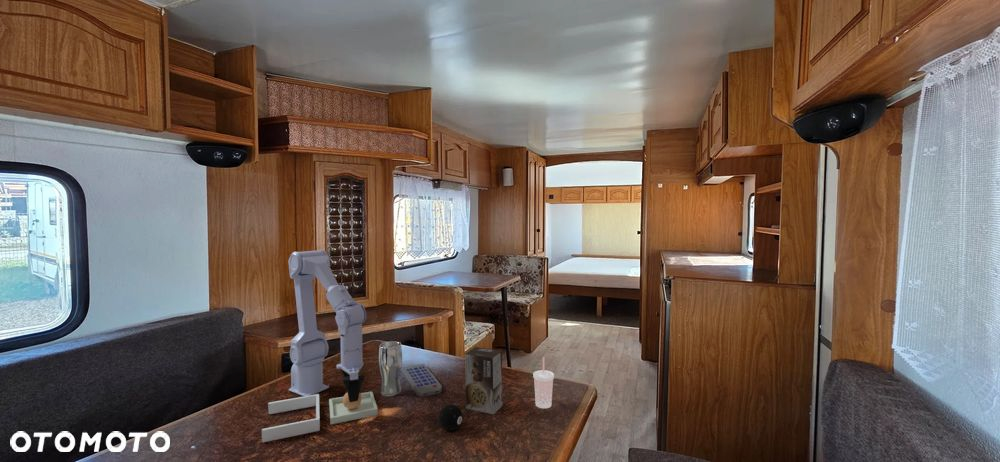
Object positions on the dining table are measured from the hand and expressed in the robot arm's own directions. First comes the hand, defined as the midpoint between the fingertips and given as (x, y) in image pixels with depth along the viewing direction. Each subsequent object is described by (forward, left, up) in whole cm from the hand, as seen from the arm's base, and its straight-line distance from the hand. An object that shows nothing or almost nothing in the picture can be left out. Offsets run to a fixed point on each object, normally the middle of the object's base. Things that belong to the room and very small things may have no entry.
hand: (352, 395), depth 113 cm
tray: (0, 0, -4) cm, 4 cm away
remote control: (+3, +25, -5) cm, 25 cm away
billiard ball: (+30, +6, -4) cm, 31 cm away
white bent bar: (-8, -12, -4) cm, 16 cm away
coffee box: (+31, +20, -4) cm, 37 cm away
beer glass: (+1, +13, -4) cm, 14 cm away
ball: (0, 0, -4) cm, 4 cm away
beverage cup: (+45, +30, -4) cm, 55 cm away
